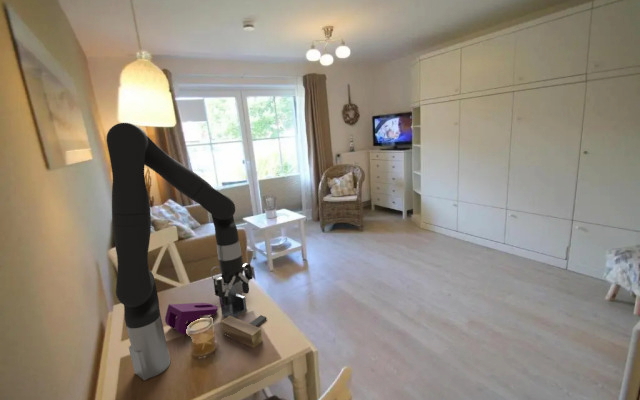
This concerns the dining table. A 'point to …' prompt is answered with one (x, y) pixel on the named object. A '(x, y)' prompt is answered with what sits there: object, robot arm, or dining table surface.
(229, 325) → the brown wooden block
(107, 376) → the dining table surface
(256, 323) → the far saddle
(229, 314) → the cup bracket
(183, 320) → the mounting bracket
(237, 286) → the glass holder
